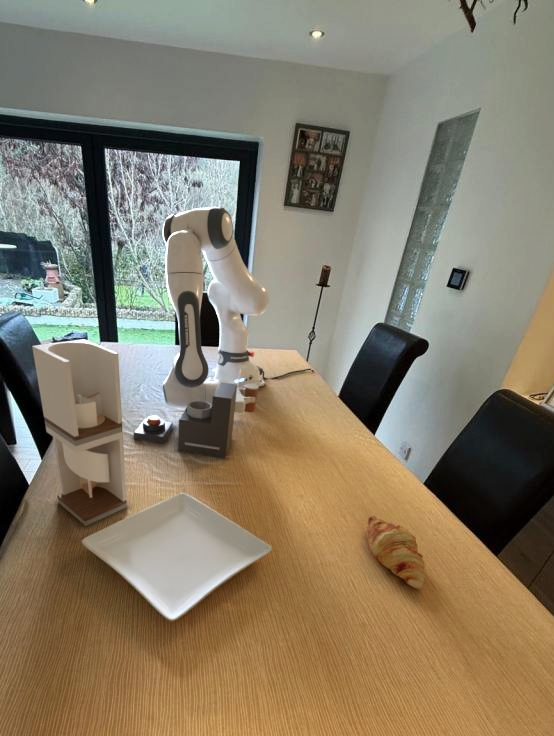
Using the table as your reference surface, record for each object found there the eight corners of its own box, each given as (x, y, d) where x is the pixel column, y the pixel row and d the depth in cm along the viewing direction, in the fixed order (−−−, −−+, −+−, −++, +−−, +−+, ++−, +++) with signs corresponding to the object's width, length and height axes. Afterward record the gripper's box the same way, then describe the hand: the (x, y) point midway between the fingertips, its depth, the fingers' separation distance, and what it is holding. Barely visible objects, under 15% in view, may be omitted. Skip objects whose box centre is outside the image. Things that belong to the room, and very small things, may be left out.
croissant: (424, 603, 83) (455, 577, 80) (392, 591, 79) (423, 563, 75) (374, 534, 100) (397, 510, 97) (345, 521, 95) (369, 496, 92)
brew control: (145, 424, 134) (145, 412, 131) (172, 428, 133) (172, 416, 131) (133, 439, 124) (133, 426, 122) (163, 443, 124) (163, 431, 121)
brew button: (149, 419, 128) (149, 414, 127) (161, 421, 128) (161, 416, 127) (146, 424, 125) (146, 419, 124) (157, 426, 125) (157, 420, 124)
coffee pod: (249, 406, 145) (252, 382, 140) (258, 411, 142) (261, 387, 137) (239, 408, 142) (242, 384, 138) (247, 413, 139) (250, 389, 135)
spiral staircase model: (58, 502, 95) (32, 345, 76) (98, 486, 102) (84, 339, 82) (85, 525, 89) (64, 362, 70) (126, 507, 96) (118, 353, 76)
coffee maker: (187, 434, 130) (189, 377, 120) (231, 440, 129) (237, 384, 119) (177, 451, 120) (179, 391, 110) (225, 459, 119) (231, 399, 109)
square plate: (272, 560, 85) (275, 546, 83) (170, 637, 68) (171, 621, 65) (183, 502, 99) (183, 488, 97) (80, 553, 82) (78, 537, 80)
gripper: (217, 397, 127) (261, 398, 129) (209, 375, 143) (247, 376, 146) (216, 417, 130) (258, 417, 133) (207, 393, 147) (245, 393, 149)
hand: (253, 395), depth 139 cm, fingers closed on coffee pod, 4 cm apart
